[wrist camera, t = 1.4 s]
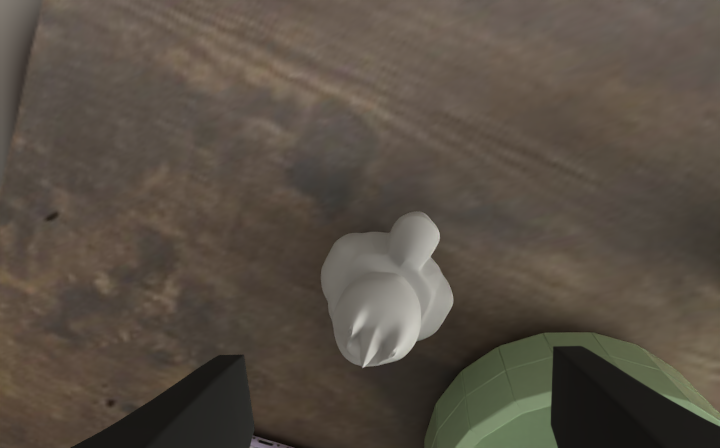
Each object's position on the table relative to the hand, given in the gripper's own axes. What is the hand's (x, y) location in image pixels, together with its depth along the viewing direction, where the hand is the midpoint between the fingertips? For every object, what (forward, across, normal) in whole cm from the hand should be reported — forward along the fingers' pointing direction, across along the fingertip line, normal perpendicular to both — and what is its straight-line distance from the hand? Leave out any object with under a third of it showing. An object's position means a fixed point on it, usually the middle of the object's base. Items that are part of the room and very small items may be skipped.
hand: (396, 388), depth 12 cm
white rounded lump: (+12, 0, +1) cm, 12 cm away
